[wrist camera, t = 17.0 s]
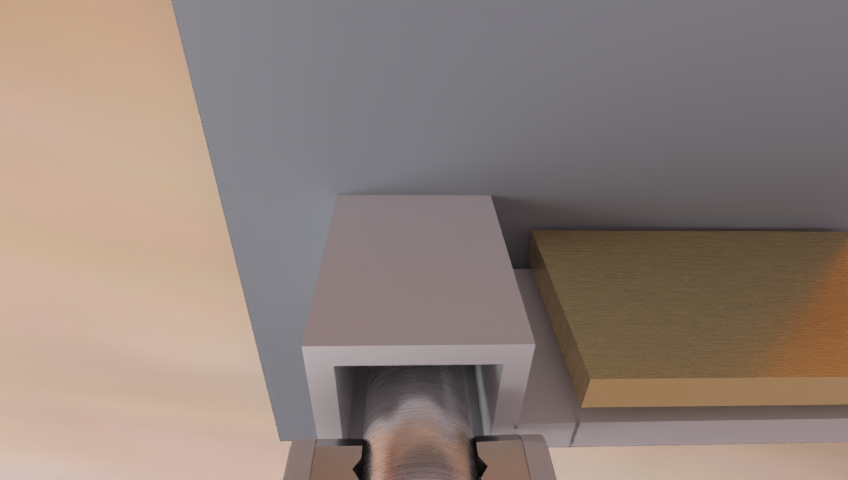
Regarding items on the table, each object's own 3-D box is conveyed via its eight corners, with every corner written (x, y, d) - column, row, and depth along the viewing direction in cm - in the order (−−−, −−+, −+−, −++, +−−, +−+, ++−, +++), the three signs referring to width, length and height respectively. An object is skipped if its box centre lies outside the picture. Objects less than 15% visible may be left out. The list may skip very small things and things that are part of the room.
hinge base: (712, 412, 24) (819, 586, 18) (285, 418, 23) (242, 604, 17) (1045, -162, 12) (1785, -243, 5) (146, -194, 11) (-208, -334, 4)
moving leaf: (834, 255, 17) (1015, 402, 12) (527, 255, 16) (581, 407, 11) (849, 231, 16) (1046, 375, 11) (531, 230, 16) (590, 379, 11)
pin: (463, 316, 15) (537, 821, 7) (389, 334, 15) (373, 835, 7) (442, 257, 14) (501, 795, 5) (361, 278, 14) (301, 815, 6)
